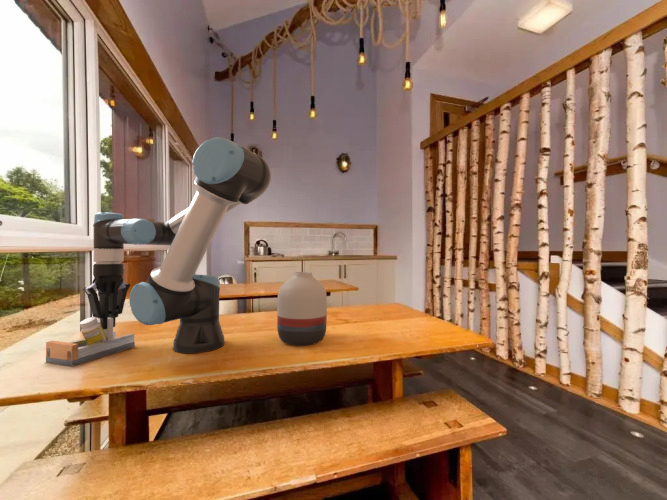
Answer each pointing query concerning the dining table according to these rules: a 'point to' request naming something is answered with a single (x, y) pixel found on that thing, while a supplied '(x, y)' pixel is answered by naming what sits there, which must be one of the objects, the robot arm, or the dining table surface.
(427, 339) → the dining table surface
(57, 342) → the rail
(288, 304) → the vase
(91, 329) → the supplement bottle
